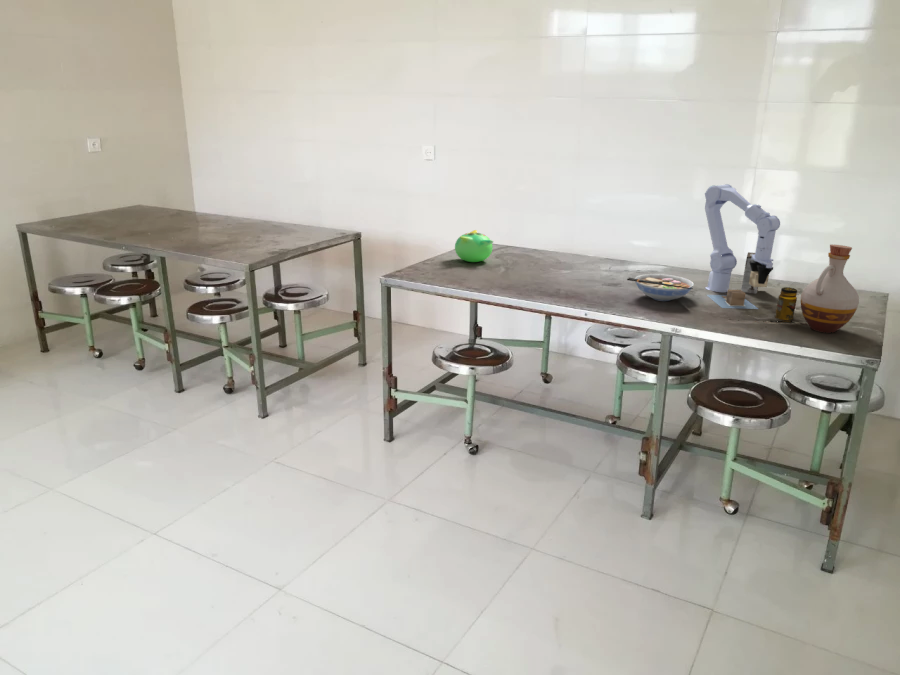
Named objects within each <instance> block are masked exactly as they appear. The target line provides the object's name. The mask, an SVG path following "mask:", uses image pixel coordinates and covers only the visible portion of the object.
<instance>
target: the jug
mask: <svg viewBox="0 0 900 675" xmlns="http://www.w3.org/2000/svg"><path fill="white" fill-rule="evenodd" d="M852 249H853V246H852V247H851V246H848V245H842V244H831V243H830V244H829V252H828V254H827V255H828V257H829V258H828V260H829V261H828V266H826V267H825V268H824V269H823V270H822V272H821V273H820V275H819V277H818V278H817V279H814V280H813V281H811V282H810V283H808V284H807V285H806V286H805V287H804V288H803V289H802V291H801V293H800V294H801V295H800V309H801V314H802V316H803V319H804V320H805V321H806V323H807V324H808V326H809V327H810V329H811V330H814V331H816V332H820V333H825V332H826V333H827V334H831V332H832V333H835V332H837V331H839V330H840V329H841V328H842V327H844V326H845V325H846V324H848V323H849V322H850V320H851V319H852V318H853V316H854V314H856V311H857V310H858V306H859V304H860V296H859V293H858V291H857V290H856V288H855V287H854V286H853V285H852V284H851V283H850V281H849V280H848V279H847V277H846V276H845V275H844V270H845V266H846V264H847V261H848V260H849V259H850V257H851V255H850V253H851V252H852Z"/></svg>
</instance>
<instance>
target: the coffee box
mask: <svg viewBox="0 0 900 675" xmlns="http://www.w3.org/2000/svg"><path fill="white" fill-rule="evenodd" d="M746 254H747V255H746V259H745V265H744V272H743V275H742V276H743V277H742V283H741V288H740V290H742V291H743V292H745V293H748V294H758V291H759V287H753V286H752V285H750V284H749V279H750V274H751V271H752V270H751V266H750V263H749V262H753V261H754V260H752V255H755V252H749V251H748V252H747V253H746Z"/></svg>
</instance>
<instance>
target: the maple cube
mask: <svg viewBox="0 0 900 675" xmlns="http://www.w3.org/2000/svg"><path fill="white" fill-rule="evenodd" d="M769 278H770V274H769V275H768V277H767V279H766V281H765V283H764V284H759V283H758V272H757V271H751V274H750V279H749V284H750V285H752V286H753V287H758V288H767V287H768V282H769Z"/></svg>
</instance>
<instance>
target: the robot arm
mask: <svg viewBox="0 0 900 675" xmlns="http://www.w3.org/2000/svg"><path fill="white" fill-rule="evenodd" d="M704 197H705V203H704V211H705V216H706V221H707V225H708V229H709V234H710V239H711V244H712V248H713V251H712V252H711V253H710V254H709V256H710V262H709V264H710V265H709V267H710V268H711V271H710V272H709V275H708V281H707V286H705V290H709V291H712V292H716V293H727V292H728V290H730V283H731V276H732V272H733V269H735V267H737V264H738V261H737V260H738V259H737V258H736V256H735V255H734V253H733V252H734V251H733V249H731V248H730V247H729V246H728V241H727V236H726V232H725V228H724V223H723V218H722V214H721V209H722V208H723V206H724V205H725V204H726V203H728V202H731V203H733V205H735V206H736V207H738V208H739V209H741V210H742V211H744V215H745V217H746V218H748V220H750V221H751V222H752V223H754V224H755V226H756V228H757V230H758V233H757V242H756V247H755V252H754V253H755V255H752V260H754V261H753V262H749V263H750V266H751V270H752V271H757V272H758V283H759V284H764V283H765V281H766V279H767V277H768V275H769V276H770V273H771V272H772V271H773V270H774V266H773V265H774V259H773V258H772V252H773V246H774V242H775V238H776V237H775V236H776V232H777V230H779V228H780V226H781V221H780V219H779V218H778V216H777V215H771V214H770V212H767V211H765V209H763V208H762V205H760V204H757V203H754V204H751V203H750V202H749V201H748V200H747V199H746V198H745V197H744V196H742V195H741V194H740V193H739V191H737V189H736V188H735V187H733V186H732V185H731V184H730V183H729V184H728V183H726V184H725V183H724V184H720V185H719V184H718V185H716V184H713V185H710V186H708V188H707V189H706V191H705V193H704Z"/></svg>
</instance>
